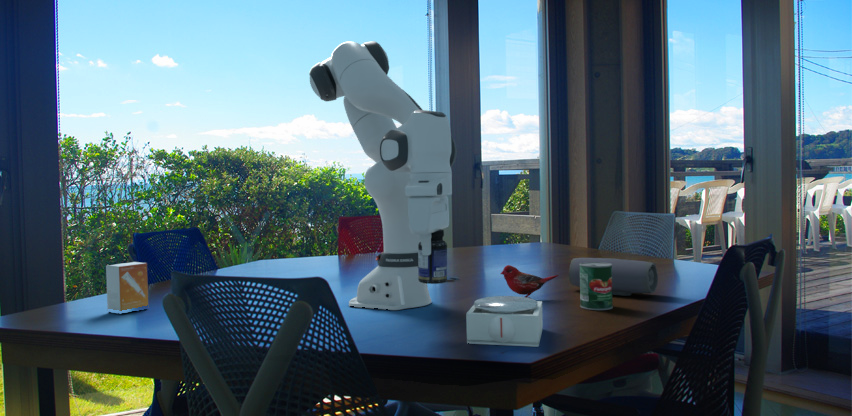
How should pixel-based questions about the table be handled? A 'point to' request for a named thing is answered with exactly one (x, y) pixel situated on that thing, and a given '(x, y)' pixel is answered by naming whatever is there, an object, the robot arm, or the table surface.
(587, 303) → the canned tomato
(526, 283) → the decorative bird figurine
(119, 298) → the small box
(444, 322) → the table surface
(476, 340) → the scale housing
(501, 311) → the scale pan
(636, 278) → the bluetooth speaker
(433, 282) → the pill bottle
